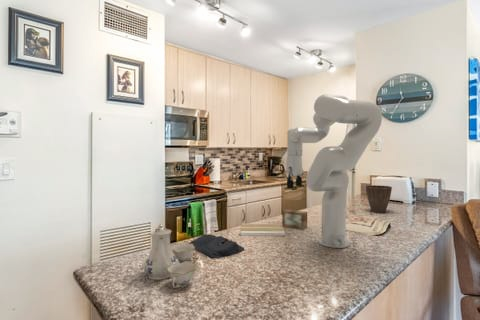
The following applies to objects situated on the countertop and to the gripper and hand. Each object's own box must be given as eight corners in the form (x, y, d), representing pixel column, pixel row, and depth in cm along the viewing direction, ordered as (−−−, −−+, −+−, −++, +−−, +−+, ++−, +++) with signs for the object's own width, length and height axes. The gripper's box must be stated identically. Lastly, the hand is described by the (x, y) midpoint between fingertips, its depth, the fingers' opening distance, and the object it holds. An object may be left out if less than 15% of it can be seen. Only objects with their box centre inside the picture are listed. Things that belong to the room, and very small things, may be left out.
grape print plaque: (318, 233, 144) (382, 242, 126) (317, 221, 143) (382, 229, 125) (336, 218, 166) (393, 224, 148) (335, 208, 166) (393, 213, 147)
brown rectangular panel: (307, 227, 142) (307, 212, 142) (303, 229, 139) (303, 213, 138) (285, 224, 149) (285, 209, 149) (282, 226, 146) (282, 210, 146)
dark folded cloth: (215, 238, 126) (215, 228, 126) (247, 252, 109) (247, 239, 109) (184, 246, 117) (184, 234, 117) (214, 262, 100) (214, 248, 99)
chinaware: (202, 296, 78) (208, 236, 78) (139, 299, 74) (145, 235, 74) (191, 259, 105) (195, 215, 105) (144, 259, 101) (148, 213, 101)
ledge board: (281, 228, 140) (281, 222, 140) (284, 235, 128) (284, 229, 128) (241, 228, 141) (241, 222, 141) (240, 235, 129) (240, 229, 129)
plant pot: (361, 211, 178) (361, 186, 178) (371, 208, 188) (371, 184, 188) (386, 215, 167) (386, 188, 167) (395, 211, 177) (395, 186, 177)
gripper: (295, 153, 152) (295, 184, 152) (279, 153, 138) (279, 188, 139) (308, 153, 147) (308, 185, 148) (293, 153, 134) (293, 189, 134)
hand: (294, 187), depth 143 cm, fingers open, 9 cm apart
